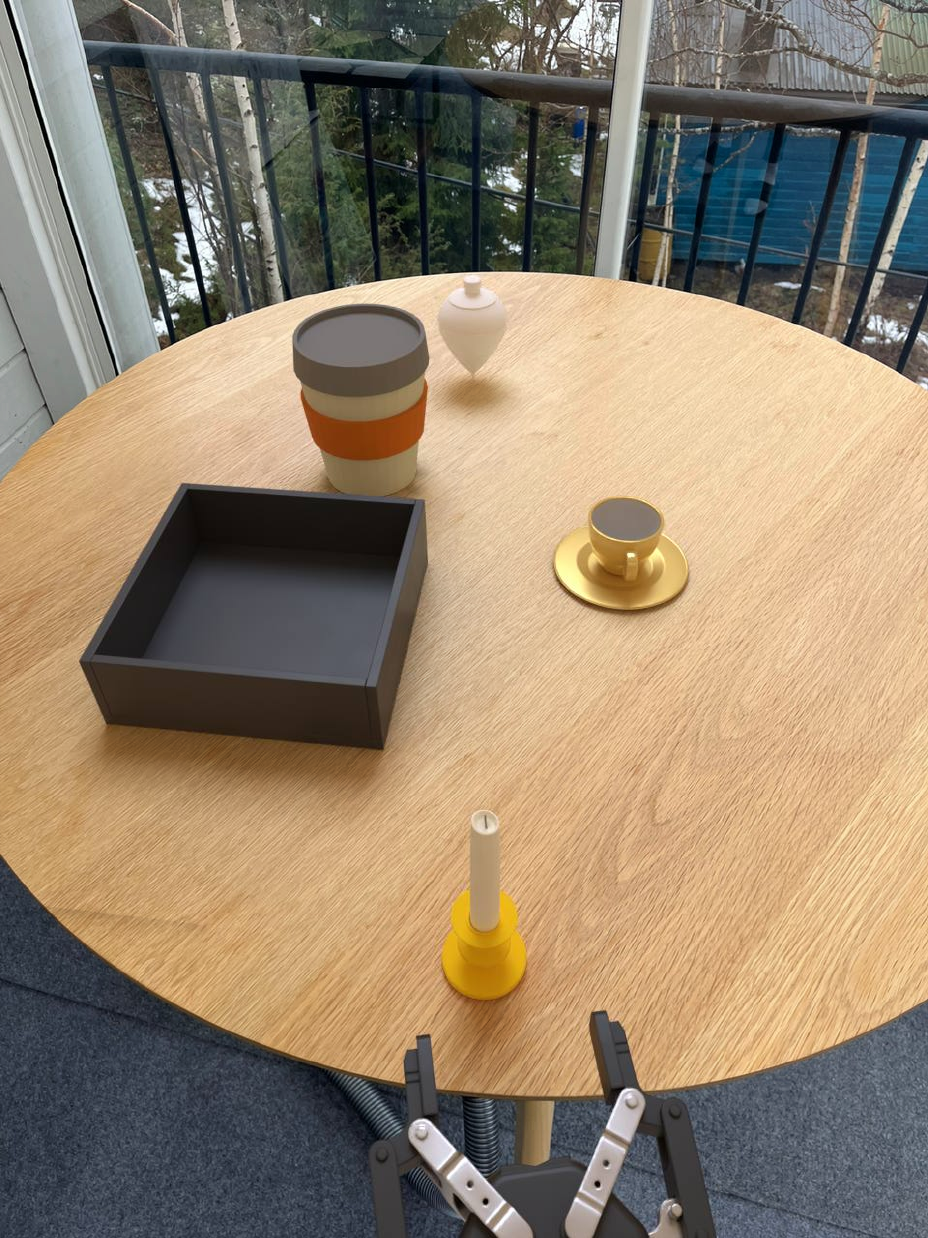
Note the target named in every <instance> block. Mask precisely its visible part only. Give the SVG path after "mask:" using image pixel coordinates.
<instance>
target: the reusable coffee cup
mask: <svg viewBox="0 0 928 1238" xmlns="http://www.w3.org/2000/svg"><path fill="white" fill-rule="evenodd" d="M291 340H292V342H291V343H292V344H291V345H292V364H293V365H292V369H293V372H294V375H295V377H296V379H298V381H299V383H300V385H301V389H300V392H299V396H300V402H301V405H302V408H303V412H304V415H305V419H306V422H307V425H308V428H309V431H310V436H311V438H312V440H313V442H314V444H315V445H316V446H317V447H318V448H319V452H320V454H321V457H322V461H323V464H324V468H325V471H326V475H327V478H328V480H329V483H330V484H331V485H332V486H333V487H334V488H335V489H336V490H337V491H339V492H341V493H342V494H353V495H368V496H383V497H387V496H390V495H393V494H395V493H398V492H400V491H402V490H403V489H405V488H406V487H407V486H409V485H410V484H411V482H413V480H414V479H415V476H416V474H417V464H418V454H419V453H418V452H419V442H420V439H422V436H423V434H424V432H425V423H426V422H425V421H426V414H427V413H426V412H427V411H426V410H427V402H428V392H429V385H428V382H427V379H426V378H425V377H426V372H427V370H428V368H429V366H430V353H429V347H428V340H427V333H426V329H425V325H424V323H423V322H422V321H421V320H420V319H419V318H418V317H417V316H416V315H415V314H413V313H411V312H409V311H407V310H405V309H402V308H399V307H396V306H393V305H387V304H380V303H350V304H343V305H337V306H333V307H329V308H326V309H323V310H320V311H318V312H316V313H313V314H311V315H310V316H308V317H306V318H305V319H304V320H302V321H301V322H300V323H299V324H297V326H296V327H295V329H294V330H293V333H292V336H291Z"/></svg>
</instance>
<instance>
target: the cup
mask: <svg viewBox="0 0 928 1238" xmlns="http://www.w3.org/2000/svg"><path fill="white" fill-rule="evenodd" d="M587 522H588V523H587V524H586V525H583V526H580V527H578V528H576V529H574V530H572V531H570V532H569V533H568V534H566V535H565V536H564V537H563V538H562V539H561V540H560V541H559V542H558V544H557V545H556V547H555V548H554V549H555V550H554V552H553V555H552V566H553V570H554V572H555V575H556V577H557V578H558V580H559V581H560V583H561V584H562V585H563V586H564V587H565V588H566V589H567V590H568V591H569V592H571V593H572V594H573V595H575V596H576V597H578V598H580V599H582V600H583V601H585V602H587V603H591V604H593V605H596V606H600V607H602V608H608V609H613V610H628V611H629V610H642V609H647V608H652V607H655V606H659V605H661V604H663V603H665V602H668V601H669V600H671V599H672V598H674V597H675V596H677V595H678V594H679V593H680V592H681V591H682V589H683V588H685V585H686V583H687V582H688V578H689V573H690V567H689V563H688V559H687V556H686V554H685V553H684V550H682V549H681V547H680V546H679V545H678V544H677V543H676V542H675V541H674V540H672V539H671V538H670V537H669V536H667V535H666V534H664V533H663V531H664V527H665V517H664V515H663V513H662V511H661V510H660V509H659V508H658V507H657V506H656V505H654V504H653V503H652V502H650V501H648V500H646V499H643V498H640V497H636V496H630V495H613V496H608V497H605V498H603V499H601V500H599V501H597V502H596V503H594V504H593V505H592V506H591V508H590V510H589V512H588V515H587Z"/></svg>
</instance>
